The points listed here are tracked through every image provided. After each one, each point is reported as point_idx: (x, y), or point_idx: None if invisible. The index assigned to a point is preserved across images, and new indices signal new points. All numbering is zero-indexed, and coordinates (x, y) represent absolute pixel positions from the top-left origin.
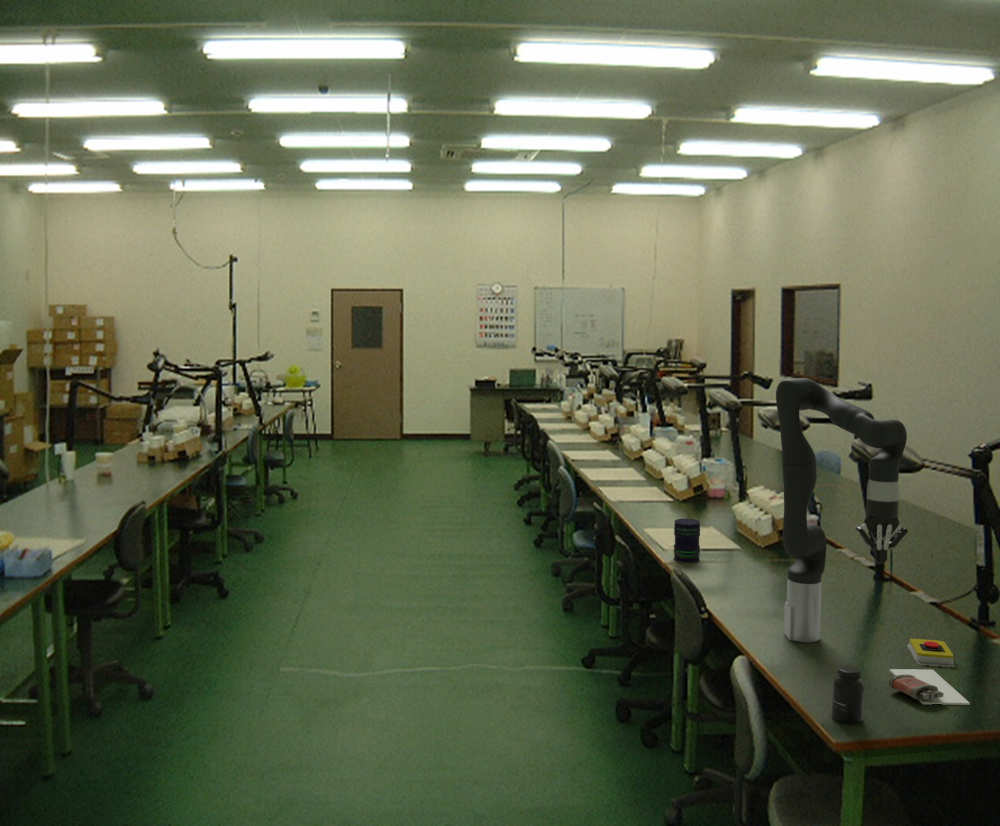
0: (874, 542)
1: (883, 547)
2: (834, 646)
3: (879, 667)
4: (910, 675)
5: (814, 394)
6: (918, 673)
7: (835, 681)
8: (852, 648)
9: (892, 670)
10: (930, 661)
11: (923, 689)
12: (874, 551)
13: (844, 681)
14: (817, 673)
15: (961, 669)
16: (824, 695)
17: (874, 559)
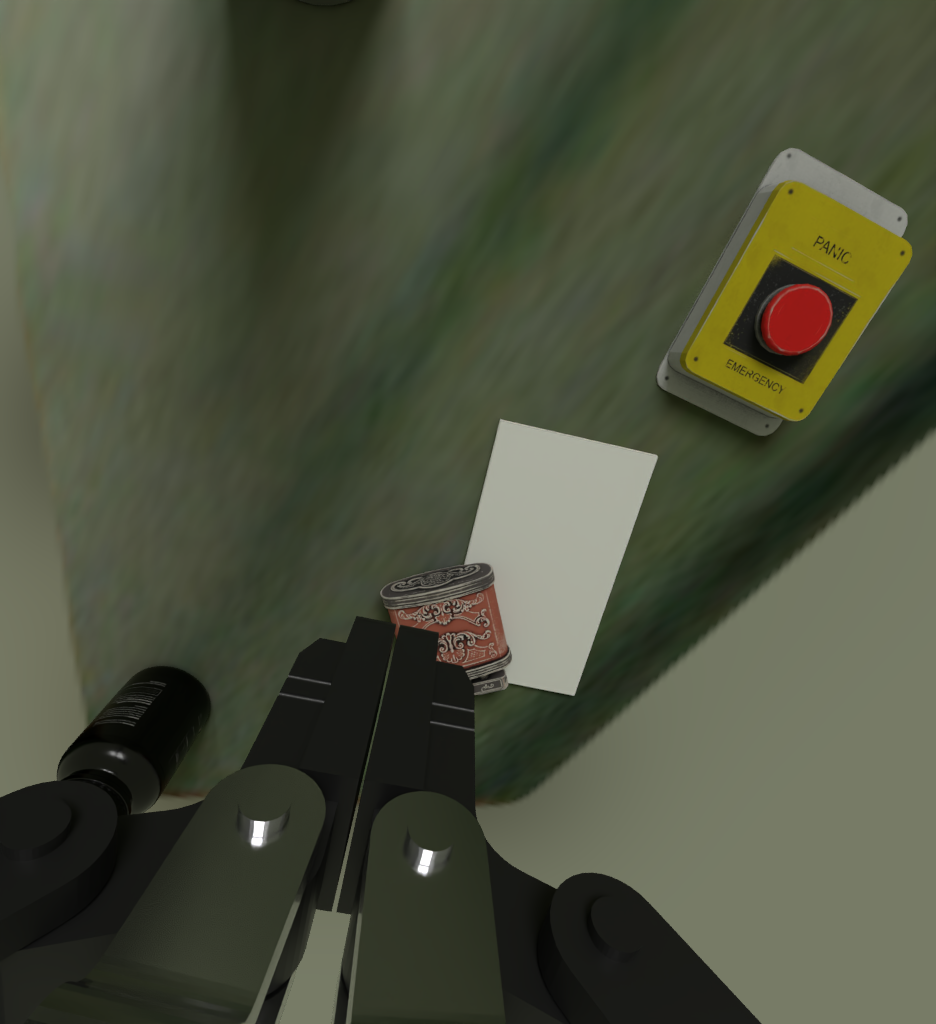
0: (167, 920)
1: (337, 983)
2: (423, 87)
3: (482, 377)
4: (472, 588)
5: None
6: (579, 477)
7: (57, 780)
8: (496, 136)
9: (502, 434)
10: (709, 386)
11: None
12: (254, 754)
13: None
14: (209, 385)
15: (776, 457)
16: (162, 559)
17: (309, 653)
